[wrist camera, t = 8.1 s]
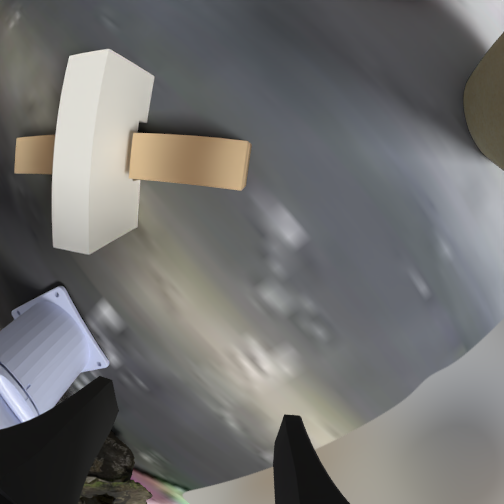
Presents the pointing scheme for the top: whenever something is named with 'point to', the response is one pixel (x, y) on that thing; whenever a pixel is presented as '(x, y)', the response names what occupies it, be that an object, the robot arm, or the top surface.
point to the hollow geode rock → (113, 477)
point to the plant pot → (487, 103)
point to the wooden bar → (158, 159)
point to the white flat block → (97, 150)
